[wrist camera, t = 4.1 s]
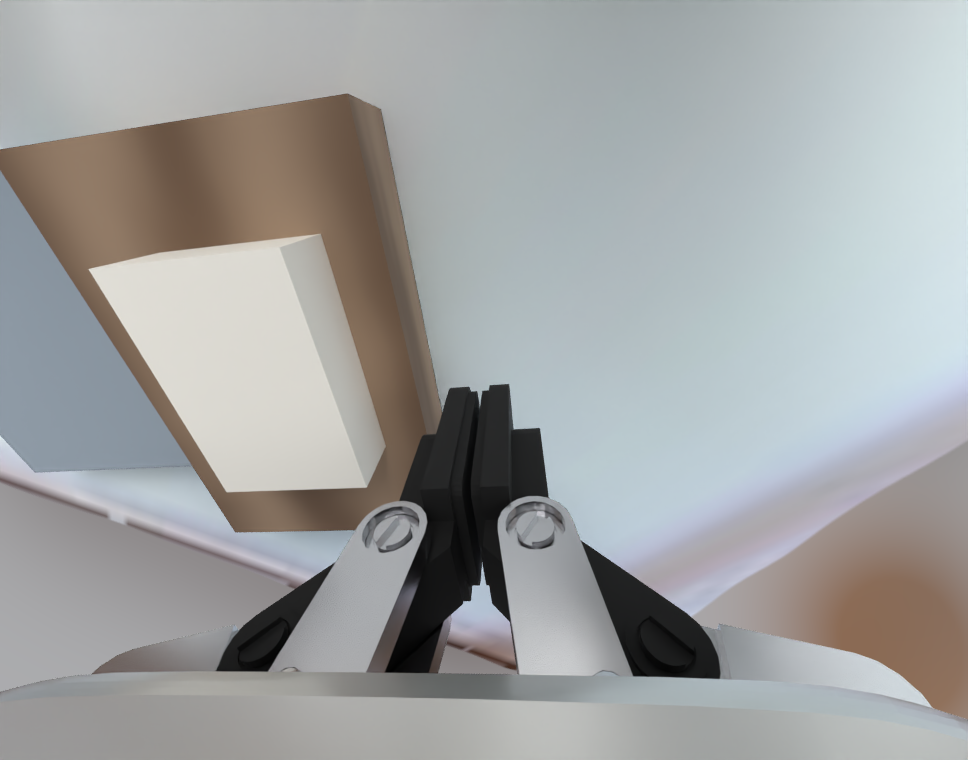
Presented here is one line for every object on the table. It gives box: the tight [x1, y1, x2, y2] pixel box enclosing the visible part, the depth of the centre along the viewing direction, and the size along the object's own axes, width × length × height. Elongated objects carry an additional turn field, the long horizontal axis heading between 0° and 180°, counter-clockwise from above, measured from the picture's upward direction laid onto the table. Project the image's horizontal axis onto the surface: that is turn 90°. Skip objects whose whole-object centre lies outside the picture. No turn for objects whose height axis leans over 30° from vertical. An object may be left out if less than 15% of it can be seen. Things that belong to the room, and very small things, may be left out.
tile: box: [89, 234, 386, 492], centre depth 14 cm, size 6×9×2 cm, turn 6°
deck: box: [0, 94, 442, 532], centre depth 17 cm, size 12×18×3 cm, turn 6°
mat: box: [0, 171, 192, 472], centre depth 17 cm, size 11×14×2 cm
